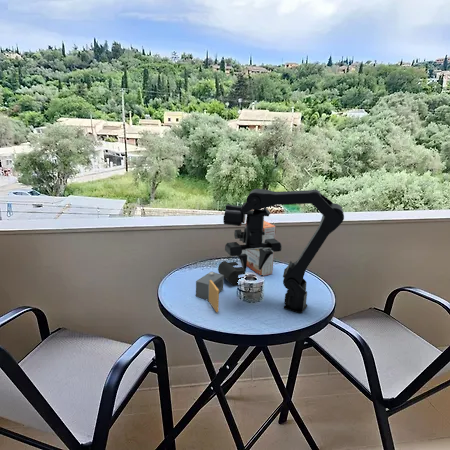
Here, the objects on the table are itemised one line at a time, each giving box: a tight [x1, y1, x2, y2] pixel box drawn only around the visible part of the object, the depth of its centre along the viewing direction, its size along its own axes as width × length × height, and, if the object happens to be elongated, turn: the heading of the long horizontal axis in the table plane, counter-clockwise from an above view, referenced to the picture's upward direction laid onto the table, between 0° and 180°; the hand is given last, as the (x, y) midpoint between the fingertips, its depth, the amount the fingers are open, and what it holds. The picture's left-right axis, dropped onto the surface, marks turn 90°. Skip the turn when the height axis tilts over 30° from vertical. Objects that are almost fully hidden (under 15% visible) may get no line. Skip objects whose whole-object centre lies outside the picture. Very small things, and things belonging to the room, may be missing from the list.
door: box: [207, 280, 220, 313], centre depth 144 cm, size 9×1×8 cm, turn 20°
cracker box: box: [245, 217, 277, 277], centre depth 174 cm, size 14×6×21 cm, turn 28°
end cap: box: [217, 260, 246, 287], centre depth 165 cm, size 10×7×7 cm
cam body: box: [195, 271, 225, 301], centre depth 154 cm, size 6×10×7 cm, turn 150°
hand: (252, 270), depth 147 cm, fingers open, 5 cm apart
